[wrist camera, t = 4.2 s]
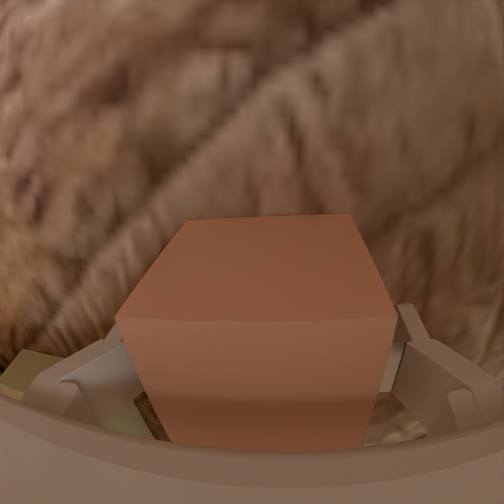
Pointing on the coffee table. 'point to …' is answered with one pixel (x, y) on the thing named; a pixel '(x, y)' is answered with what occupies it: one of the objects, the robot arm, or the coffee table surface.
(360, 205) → the coffee table surface
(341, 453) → the robot arm
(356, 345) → the top brick
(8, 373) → the tower base
